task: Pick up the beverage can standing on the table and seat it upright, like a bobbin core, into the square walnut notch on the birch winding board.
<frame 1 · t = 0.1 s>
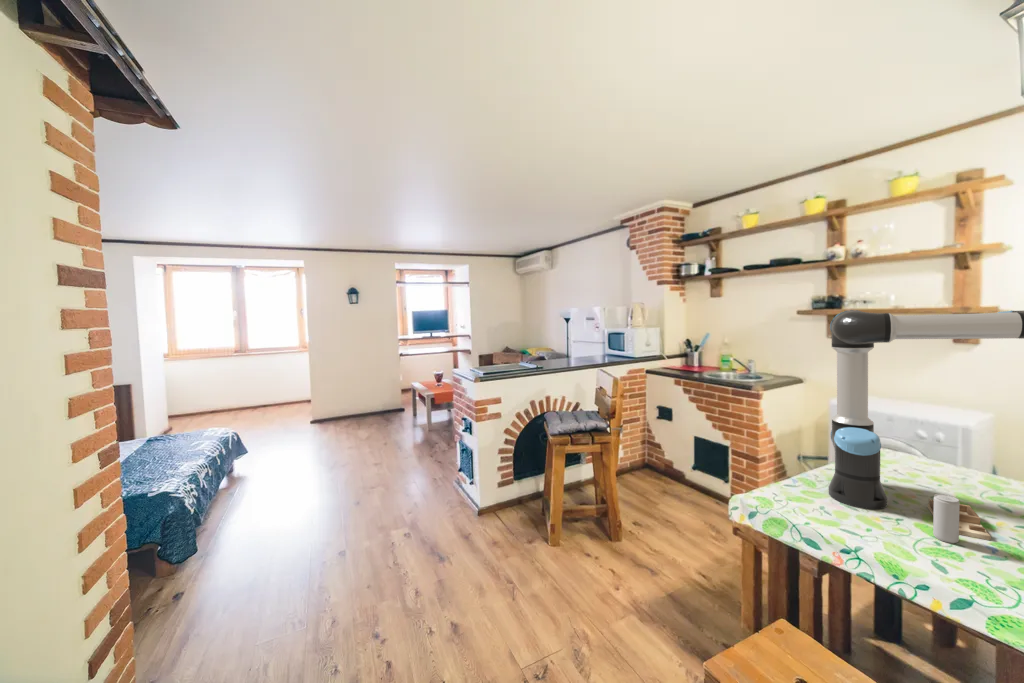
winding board: (956, 522, 116), on the table
beverage can: (945, 539, 108), on the table
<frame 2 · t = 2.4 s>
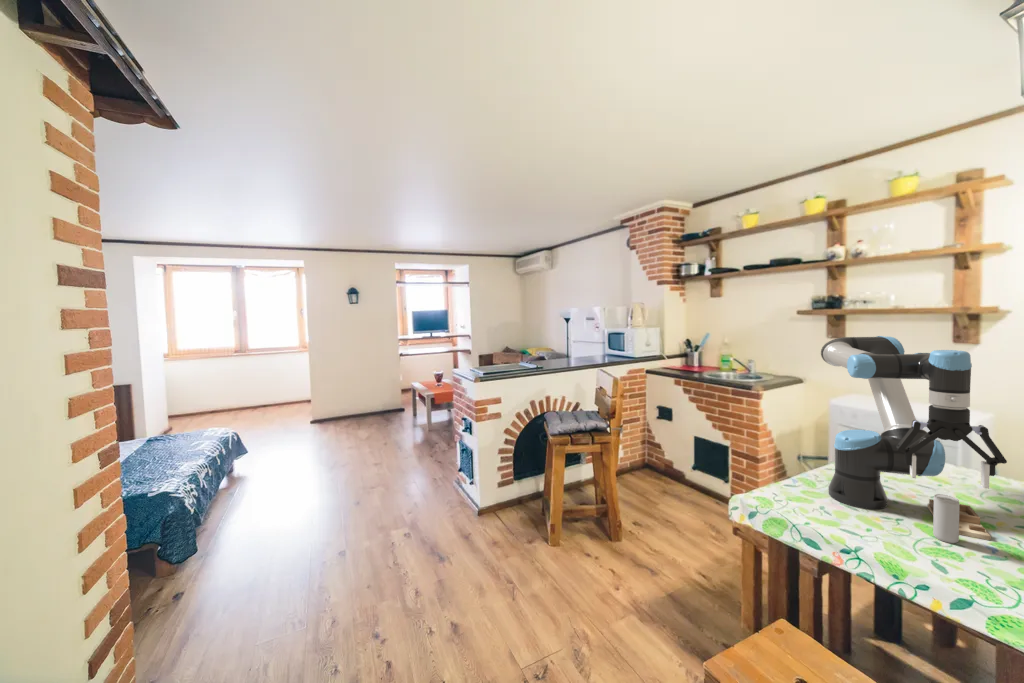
hand: (947, 481, 107), 17 cm above the table, fingers open, 13 cm apart
nothing on the table moved.
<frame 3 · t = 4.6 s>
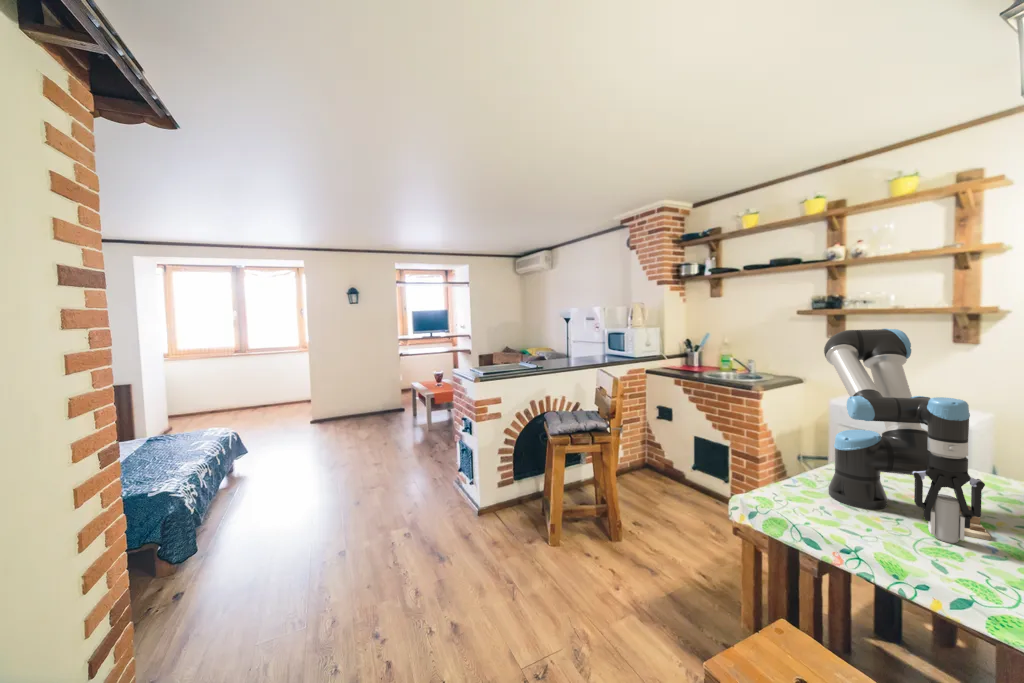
hand: (945, 534, 108), 1 cm above the table, fingers closed on beverage can, 5 cm apart
beverage can: (945, 539, 108), on the table, touching gripper
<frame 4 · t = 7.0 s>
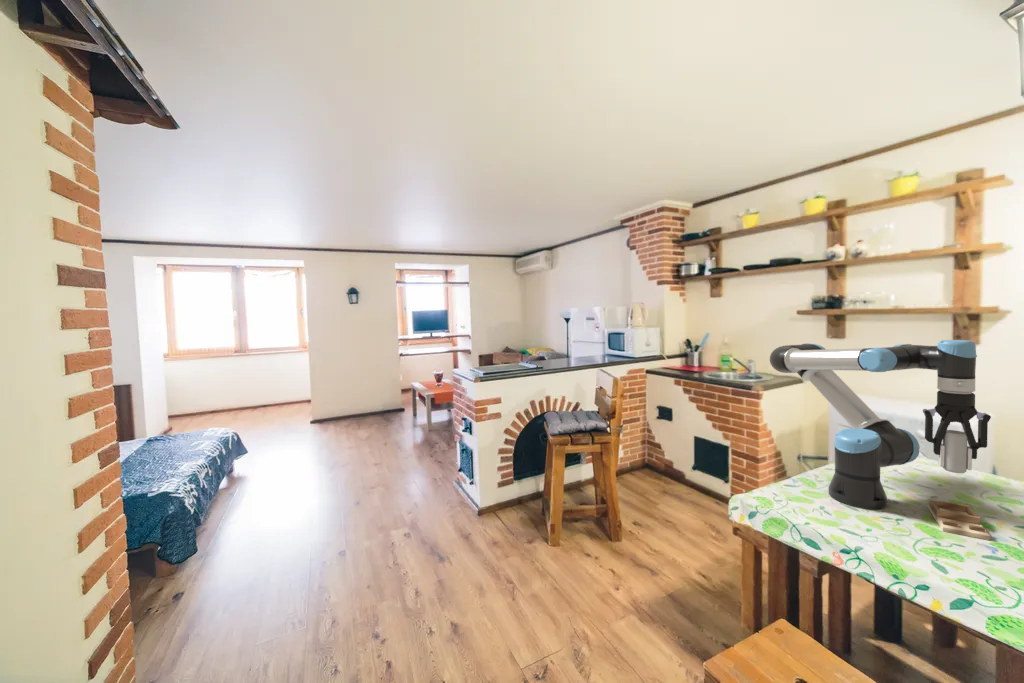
hand: (954, 466, 117), 16 cm above the table, fingers closed on beverage can, 5 cm apart
beverage can: (954, 471, 117), point 15 cm above the table, touching gripper
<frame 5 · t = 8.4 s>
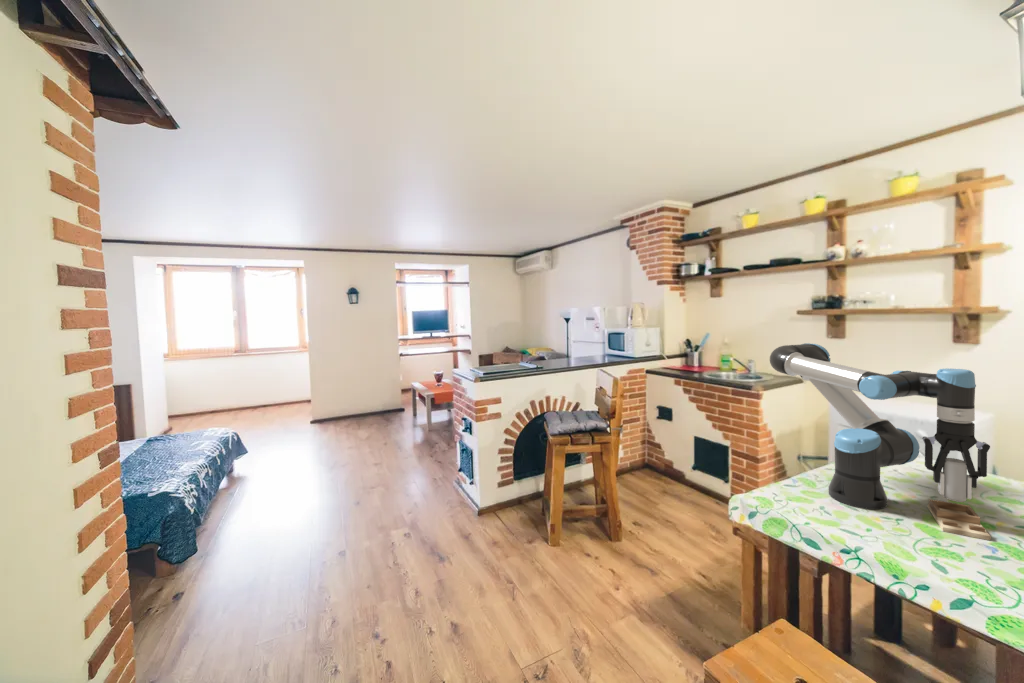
hand: (954, 494, 117), 7 cm above the table, fingers closed on beverage can, 5 cm apart
beverage can: (954, 499, 117), point 6 cm above the table, touching gripper
when the fingers open (4 cm above the table, at t = 9.4 s): beverage can drops 2 cm, resting on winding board.
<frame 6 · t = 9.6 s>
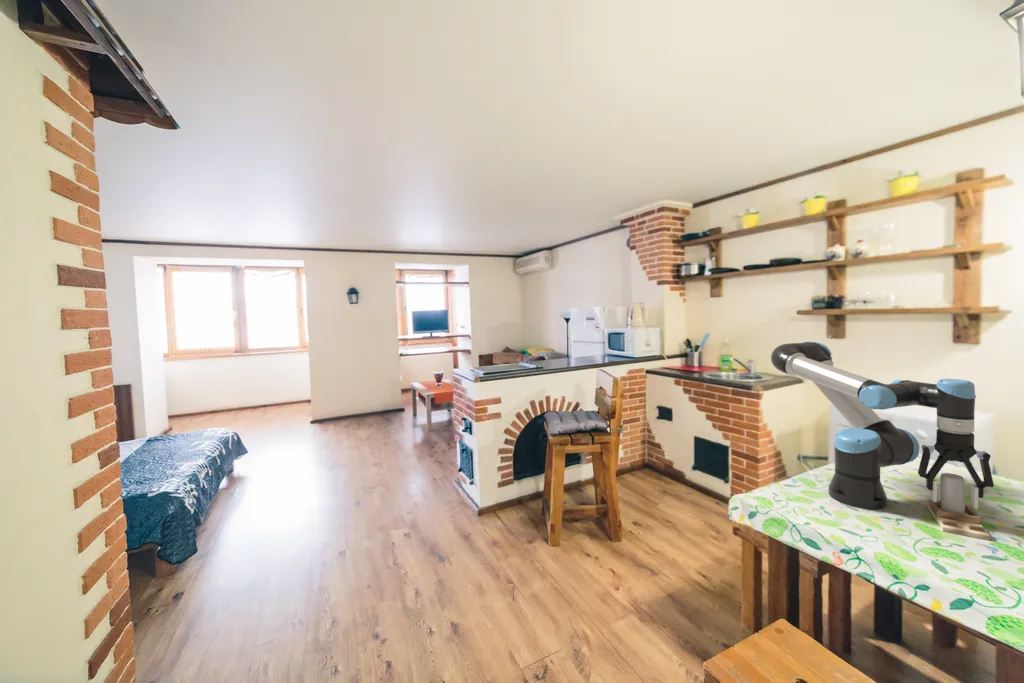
hand: (953, 503, 118), 5 cm above the table, fingers open, 8 cm apart
beverage can: (953, 514, 118), point 1 cm above the table, touching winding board
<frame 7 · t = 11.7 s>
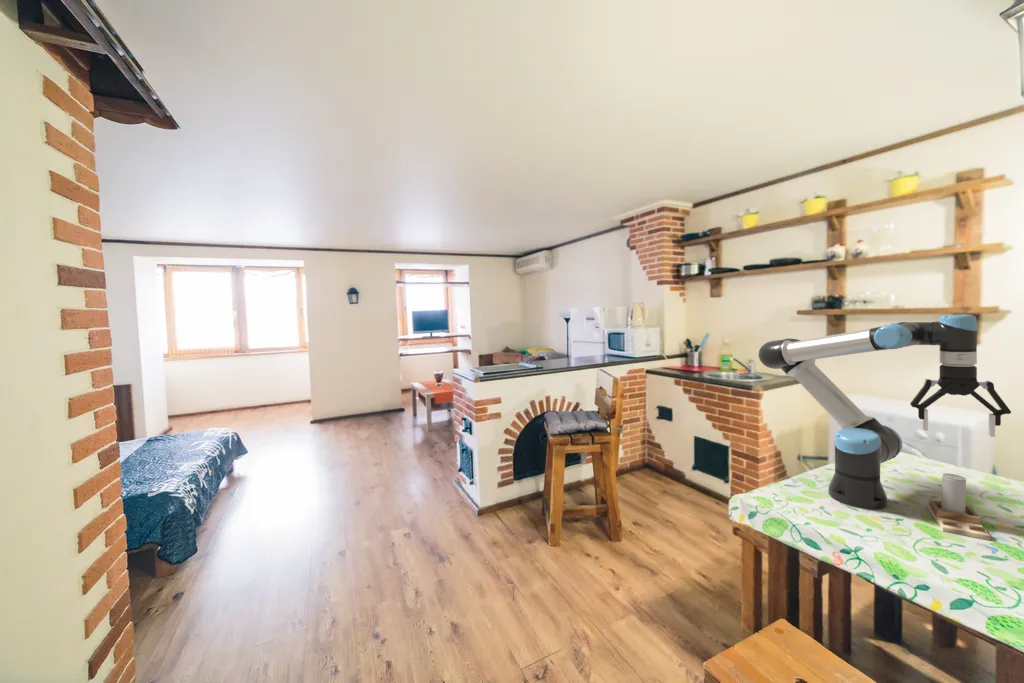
hand: (957, 432, 120), 26 cm above the table, fingers open, 13 cm apart
nothing on the table moved.
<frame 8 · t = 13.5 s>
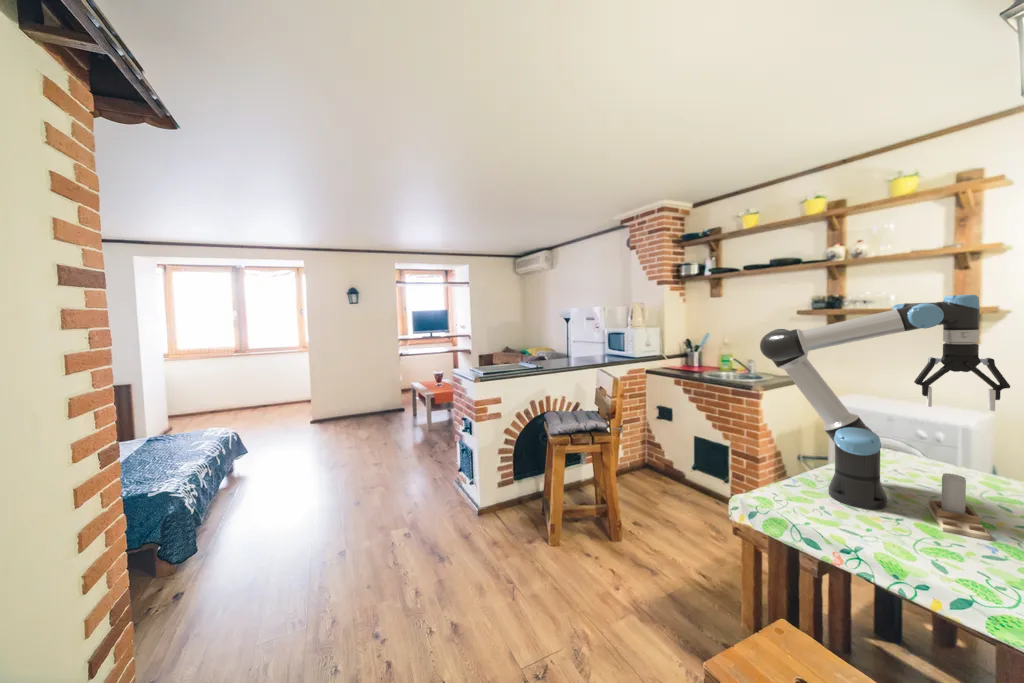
hand: (959, 407, 125), 32 cm above the table, fingers open, 13 cm apart
nothing on the table moved.
at the end: beverage can 0.1 cm from the target spot on the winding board, point 1.0 cm above the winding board's base; beverage can tilted 0°; the gripper is holding nothing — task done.
